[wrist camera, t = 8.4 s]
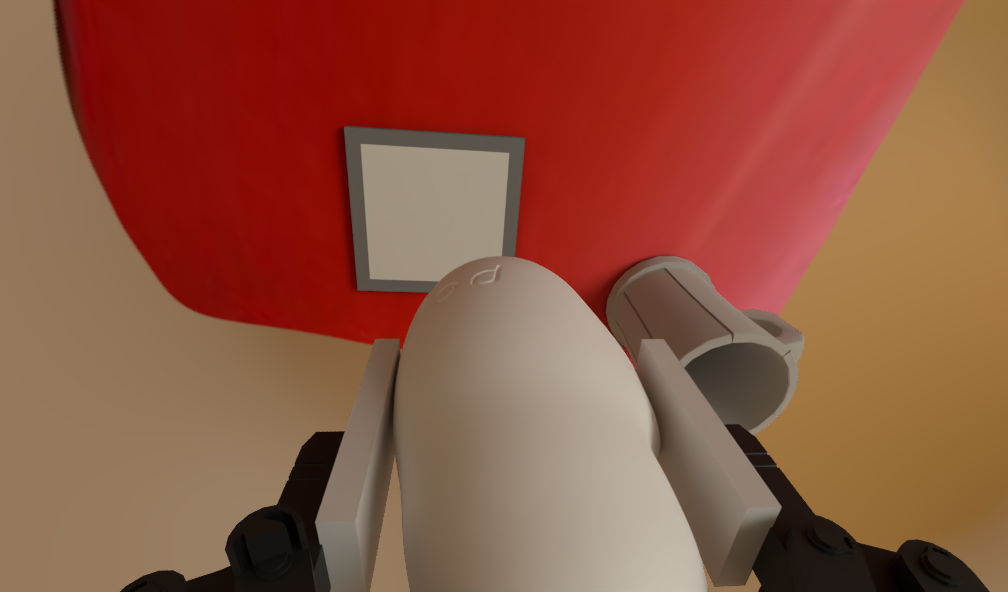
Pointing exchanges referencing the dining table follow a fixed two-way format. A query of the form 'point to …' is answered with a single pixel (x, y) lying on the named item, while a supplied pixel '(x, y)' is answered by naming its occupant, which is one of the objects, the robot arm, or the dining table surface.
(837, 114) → the dining table surface
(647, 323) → the cup
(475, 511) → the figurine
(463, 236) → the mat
